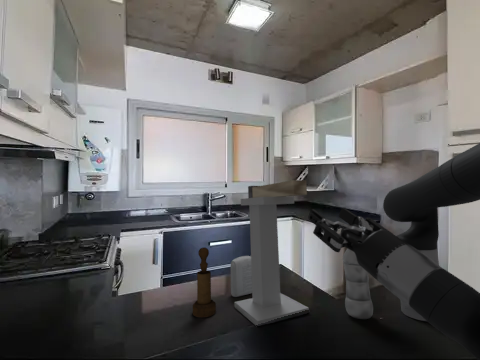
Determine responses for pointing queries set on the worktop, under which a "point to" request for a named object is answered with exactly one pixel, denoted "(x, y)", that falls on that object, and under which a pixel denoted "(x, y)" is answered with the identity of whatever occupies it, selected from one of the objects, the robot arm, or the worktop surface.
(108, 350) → the worktop surface
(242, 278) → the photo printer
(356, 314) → the plastic bottle
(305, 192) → the birch bar
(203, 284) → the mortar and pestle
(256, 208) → the stand
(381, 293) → the worktop surface
